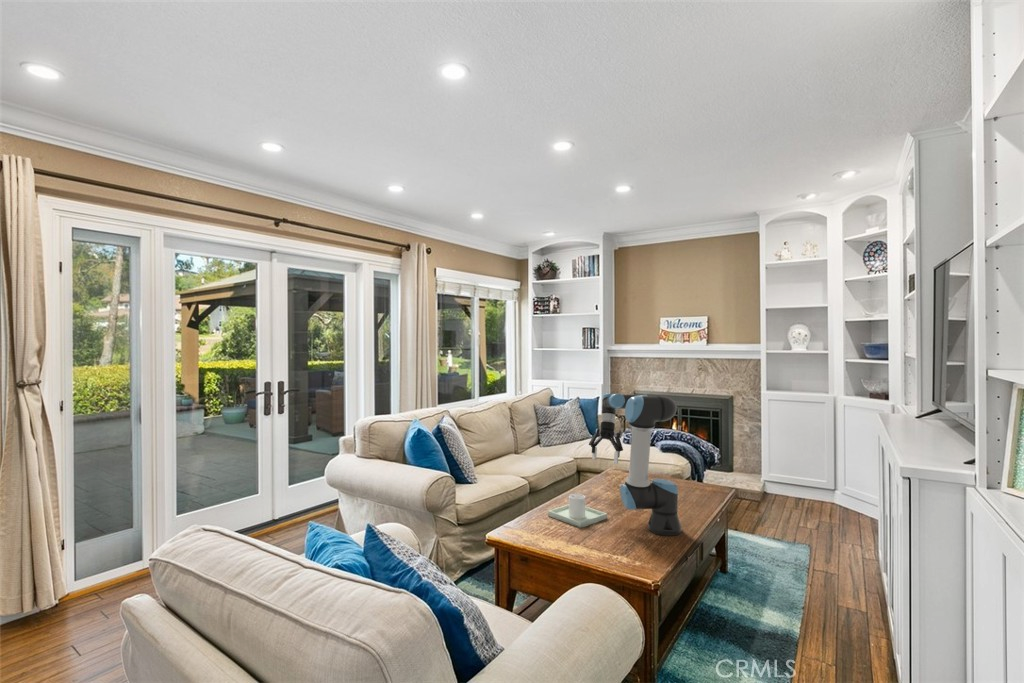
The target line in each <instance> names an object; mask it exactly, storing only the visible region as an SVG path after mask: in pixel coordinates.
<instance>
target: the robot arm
mask: <svg viewBox="0 0 1024 683" xmlns="http://www.w3.org/2000/svg"><path fill="white" fill-rule="evenodd" d="M601 401H602V402H601V404H602V405H601V419H600V421H601V422H600V428H596V429H595V430H594V434H593V436H592V437H591V439H590V441H589V442H588V445H589V446H590V447H591V454H592V461H596V460H597V456H598V455H597V454H598V453H597V452H598V447H597V446H598V445H599V444H600V443H601V441H602V440H607V441H610V443H611V445H612V447H613V448H614V450H615V451H614V452H613V453H614V457H613V465H614V464H615V465H616V464H617V465H618V464H619V458H620V453H621V452H623V451H624V449H623V448H624V447H623V445H622V444H623V443H622V441H621V438H620V433H619V432H615V428H616V427H615V425H616V424H615V423H616V411H617V410H623V409H624V414H625V415H624V416H625V420H626V421H627V422H628V425H629V427H631V439H630V451H629V452H630V454H629V455H630V456H629V468H628V469H629V471H628V476H627V477H625V479H624V483H622V484H620V485H619V486H620V487H619V492H620V498H621V501H622V504H623V506H624V507H625V509H627V510H634V511H637V510H651V514H650V516H649V519H648V523H647V529H648V530H649V532H651V533H653V534H656V535H661V536H667V537H668V536H670V537H671V536H677V535H680V534H681V533H682V525H681V522H680V519H679V516H678V510H679V509H678V504H679V501H678V499H679V497H678V495H679V491H678V485H677V484H676V483H675V482H673V481H671V480H667V479H663V478H652V480H650V479H649V478H648V477H649V468H650V466H649V465H650V455H651V454H650V451H651V450H650V449H651V440H652V438H651V437H652V430H653V429H654V428H655V427H656V423H657V422H659V423H660V422H666V421H670V420H671V419H672V418H674V416H675V415H676V413H677V412H678V411H677V409H678V407H677V404H676V402H675V400H674V399H672V398H671V397H669V396H665V395H664V396H663V395H656V396H654V395H651V396H649V395H648V394H642V393H641V394H622V393H619V392H617V393H604V394H603V395H602V399H601Z"/></svg>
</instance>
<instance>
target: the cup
mask: <svg viewBox="0 0 1024 683" xmlns="http://www.w3.org/2000/svg"><path fill="white" fill-rule="evenodd" d="M568 504H569V517H571V518H573V519H582V518H584V517H585V506H586V495H584V494H582V493H571V494H569V495H568Z"/></svg>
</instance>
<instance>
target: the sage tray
mask: <svg viewBox="0 0 1024 683" xmlns="http://www.w3.org/2000/svg"><path fill="white" fill-rule="evenodd" d="M547 516H548V517H550V518H553V519H556V520H558V521H561V522H563V523H566V524H568V525H572V526H574V527H576V528H578V529H582V528H585V527H587V526H591V525H593V524H596V523H598V522H601V521H604V520H606V519H608V513H606V512H604V511H601V510H597V509H594V508H592V507H589V506H587V505H585V517H584V518H582V519H573V518H571V517H569V503H567V504H565V505H562V506H559V507H555V508H552V509H550V510H547Z"/></svg>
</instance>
